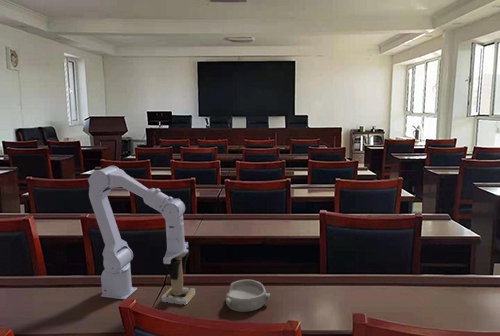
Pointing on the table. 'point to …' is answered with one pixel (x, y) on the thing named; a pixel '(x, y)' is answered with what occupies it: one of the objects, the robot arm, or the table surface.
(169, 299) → the square frame
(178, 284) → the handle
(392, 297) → the table surface
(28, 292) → the table surface
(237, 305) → the dish
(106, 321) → the table surface
